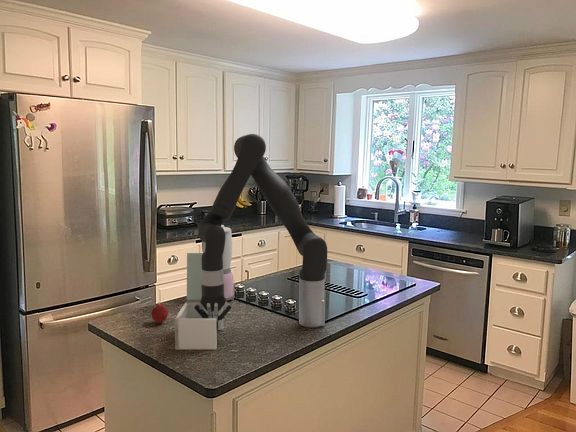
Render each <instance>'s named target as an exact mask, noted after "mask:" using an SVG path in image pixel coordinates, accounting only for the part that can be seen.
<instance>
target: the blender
mask: <svg viewBox="0 0 576 432" xmlns="http://www.w3.org/2000/svg"><path fill="white" fill-rule="evenodd" d="M221 227H222V228H223V229H224V231H225V237H226V240H225V247H224V252H223V273H224V297H225V299H226V302H228V301H230V300H231V301H232V302H233V301H234V299H235V293H234V288H235V287H234V282H235V281H234V274H233V272H232V269H231V263H232V256H233V238H232V237H233V236H232V229H231V228H230V227H225V225H224V224H222V225H221ZM205 247H206V243H205V242H203V241H202V240H201V251H202V252H201V253H204V252H205Z"/></svg>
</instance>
